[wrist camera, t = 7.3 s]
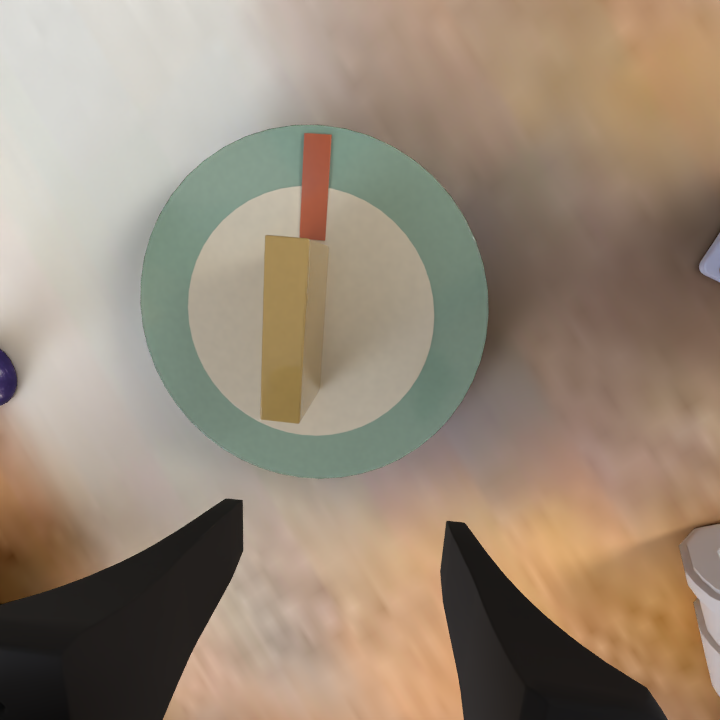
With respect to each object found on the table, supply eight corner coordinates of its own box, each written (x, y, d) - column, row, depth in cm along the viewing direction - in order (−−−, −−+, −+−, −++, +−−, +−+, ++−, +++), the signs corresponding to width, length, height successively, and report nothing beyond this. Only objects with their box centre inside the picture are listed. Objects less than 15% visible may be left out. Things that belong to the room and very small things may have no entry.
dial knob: (458, 488, 21) (479, 559, 16) (155, 452, 22) (83, 508, 17) (513, 143, 17) (564, 88, 12) (142, 119, 18) (42, 59, 13)
